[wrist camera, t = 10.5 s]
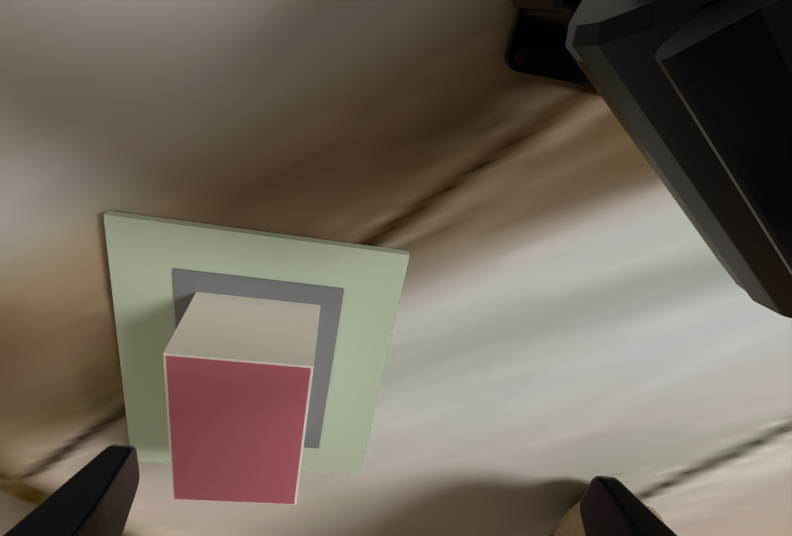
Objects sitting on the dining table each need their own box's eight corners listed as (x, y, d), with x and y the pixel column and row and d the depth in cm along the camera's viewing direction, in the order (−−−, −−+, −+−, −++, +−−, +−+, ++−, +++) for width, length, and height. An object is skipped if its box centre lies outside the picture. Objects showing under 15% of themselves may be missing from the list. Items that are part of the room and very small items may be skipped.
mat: (408, 250, 20) (410, 256, 20) (359, 468, 27) (360, 476, 27) (108, 210, 19) (102, 215, 18) (134, 454, 25) (130, 462, 25)
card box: (304, 433, 25) (296, 505, 21) (199, 426, 24) (172, 500, 20) (320, 305, 21) (313, 367, 17) (196, 291, 20) (162, 353, 17)
